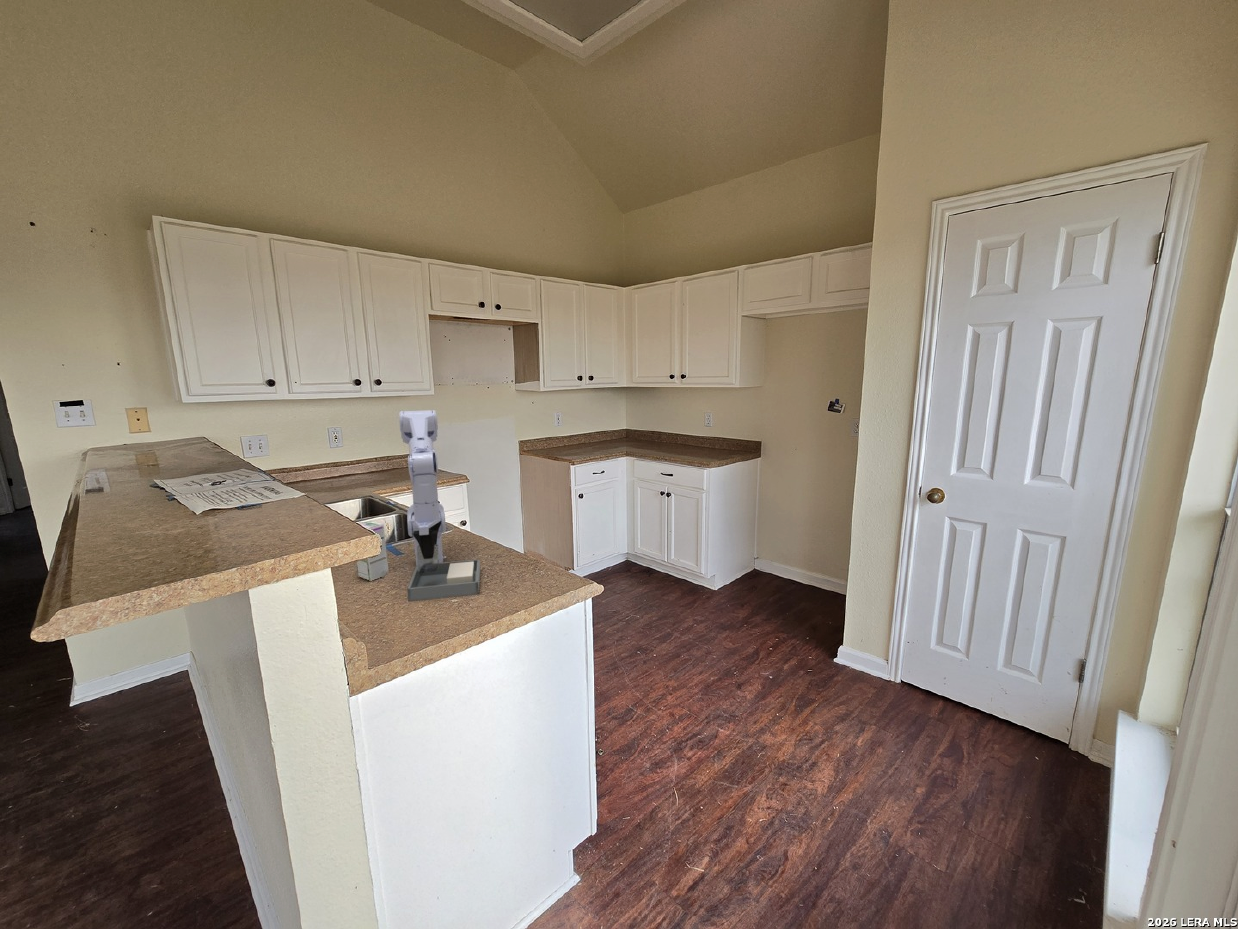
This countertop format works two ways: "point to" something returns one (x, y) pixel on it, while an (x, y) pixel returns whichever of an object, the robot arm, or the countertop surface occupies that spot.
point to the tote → (441, 583)
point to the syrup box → (378, 564)
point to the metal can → (428, 561)
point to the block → (460, 573)
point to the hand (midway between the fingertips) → (429, 554)
